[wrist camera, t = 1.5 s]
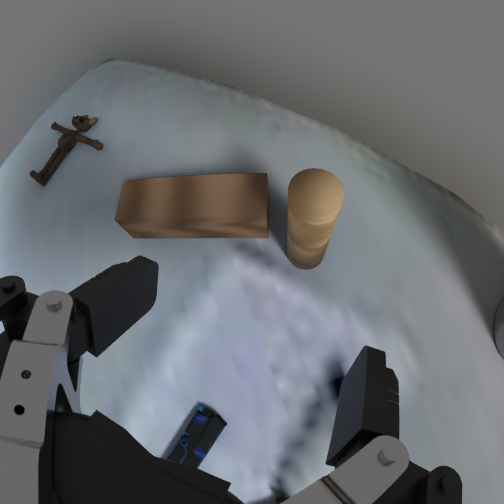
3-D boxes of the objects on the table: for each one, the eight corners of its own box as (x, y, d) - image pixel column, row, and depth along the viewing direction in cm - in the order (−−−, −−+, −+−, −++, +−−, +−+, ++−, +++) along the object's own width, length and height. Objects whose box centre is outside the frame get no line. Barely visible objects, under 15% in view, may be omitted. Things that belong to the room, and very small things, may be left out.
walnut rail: (269, 198, 35) (266, 173, 30) (268, 238, 33) (265, 216, 28) (141, 201, 37) (124, 180, 32) (133, 238, 35) (114, 219, 30)
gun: (175, 364, 30) (94, 437, 28) (165, 362, 28) (80, 439, 25) (331, 509, 22) (231, 572, 19) (334, 520, 19) (227, 583, 17)
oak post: (323, 234, 33) (340, 169, 22) (324, 269, 31) (346, 216, 20) (286, 233, 33) (287, 168, 22) (286, 269, 32) (288, 215, 21)
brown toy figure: (14, 162, 40) (60, 99, 43) (27, 172, 44) (71, 111, 47) (54, 195, 36) (113, 114, 38) (71, 207, 40) (125, 130, 42)
